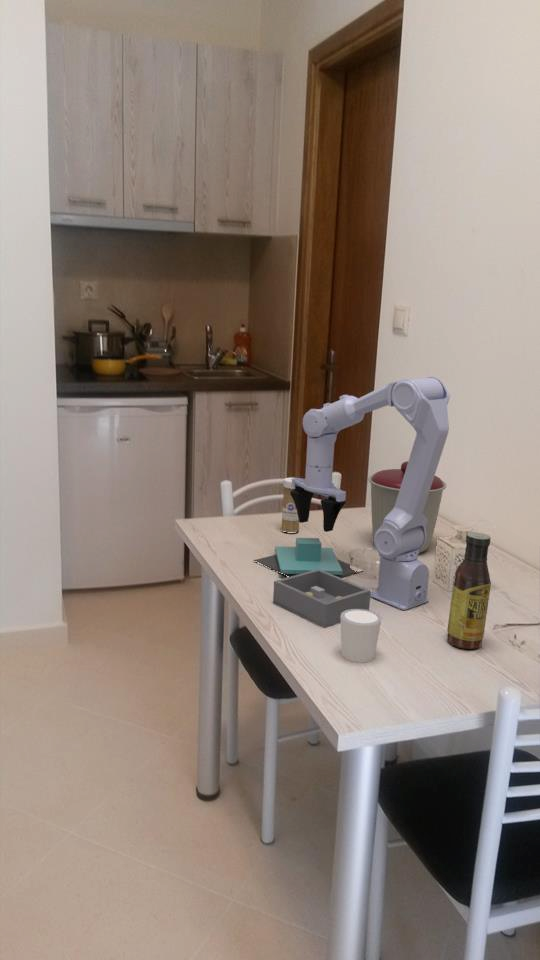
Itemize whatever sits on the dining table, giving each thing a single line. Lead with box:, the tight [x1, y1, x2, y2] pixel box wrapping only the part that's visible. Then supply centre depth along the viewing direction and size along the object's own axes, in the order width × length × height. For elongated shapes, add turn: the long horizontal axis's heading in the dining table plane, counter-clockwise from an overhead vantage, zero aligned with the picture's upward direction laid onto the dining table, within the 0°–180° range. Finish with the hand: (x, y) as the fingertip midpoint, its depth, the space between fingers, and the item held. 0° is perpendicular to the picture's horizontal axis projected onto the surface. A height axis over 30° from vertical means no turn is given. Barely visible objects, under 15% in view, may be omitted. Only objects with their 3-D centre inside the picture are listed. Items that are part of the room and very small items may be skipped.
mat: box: [253, 554, 357, 579], centre depth 176 cm, size 18×16×1 cm
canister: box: [367, 460, 447, 554], centre depth 190 cm, size 18×18×21 cm
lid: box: [274, 537, 343, 575], centre depth 175 cm, size 15×13×6 cm
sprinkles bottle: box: [280, 477, 300, 532], centre depth 199 cm, size 5×5×14 cm
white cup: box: [340, 609, 383, 664], centre depth 134 cm, size 7×7×7 cm
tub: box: [272, 569, 372, 629], centre depth 154 cm, size 14×12×4 cm
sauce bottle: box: [446, 531, 492, 650], centre depth 139 cm, size 6×6×20 cm
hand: (315, 526), depth 174 cm, fingers open, 7 cm apart
